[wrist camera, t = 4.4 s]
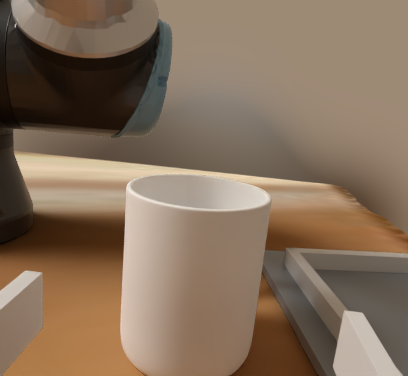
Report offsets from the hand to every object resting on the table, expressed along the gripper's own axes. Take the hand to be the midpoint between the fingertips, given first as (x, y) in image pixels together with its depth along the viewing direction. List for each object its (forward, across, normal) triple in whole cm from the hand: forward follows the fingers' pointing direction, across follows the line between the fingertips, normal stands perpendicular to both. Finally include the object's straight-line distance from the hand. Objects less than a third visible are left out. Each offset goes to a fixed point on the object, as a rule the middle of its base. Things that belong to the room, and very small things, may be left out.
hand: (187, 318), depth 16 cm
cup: (+8, 0, -6) cm, 10 cm away
